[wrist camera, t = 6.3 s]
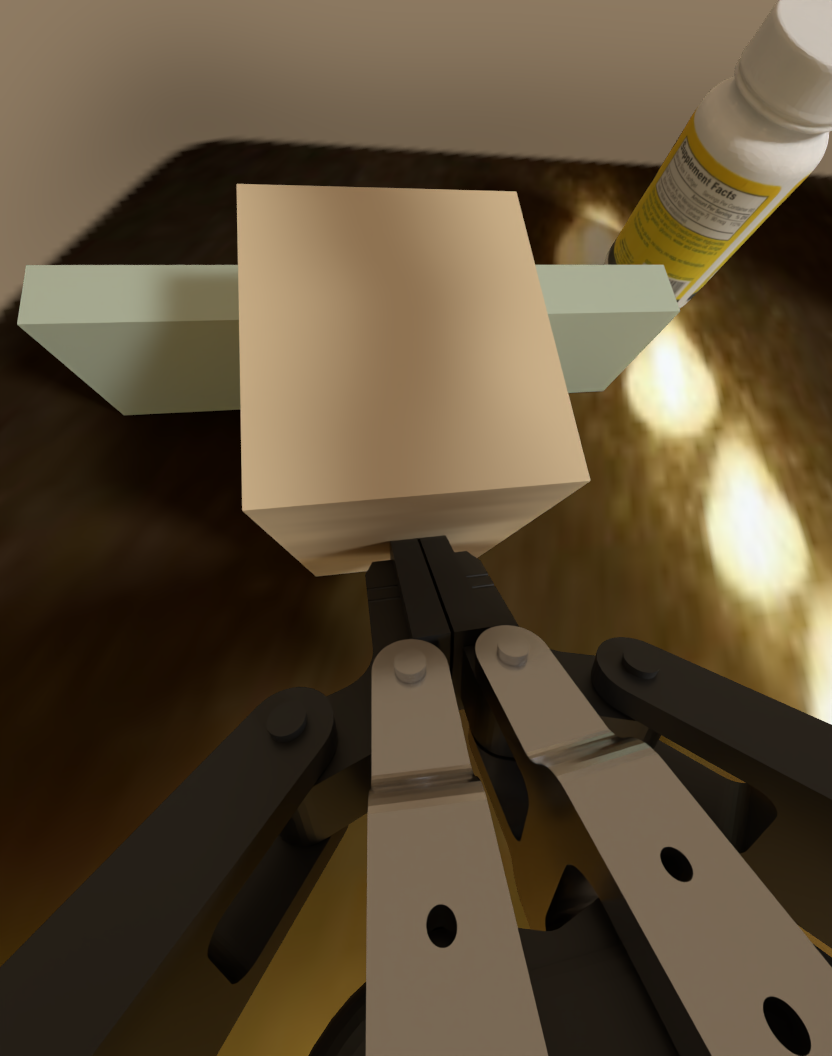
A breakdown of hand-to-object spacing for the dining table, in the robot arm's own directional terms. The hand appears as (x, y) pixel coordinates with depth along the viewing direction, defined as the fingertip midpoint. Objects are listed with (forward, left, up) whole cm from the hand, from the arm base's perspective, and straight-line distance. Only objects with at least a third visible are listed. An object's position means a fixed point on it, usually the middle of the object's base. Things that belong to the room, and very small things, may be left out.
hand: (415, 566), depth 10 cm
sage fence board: (0, -9, -4) cm, 9 cm away
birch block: (0, -4, -4) cm, 6 cm away
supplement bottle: (-14, -14, -4) cm, 20 cm away
